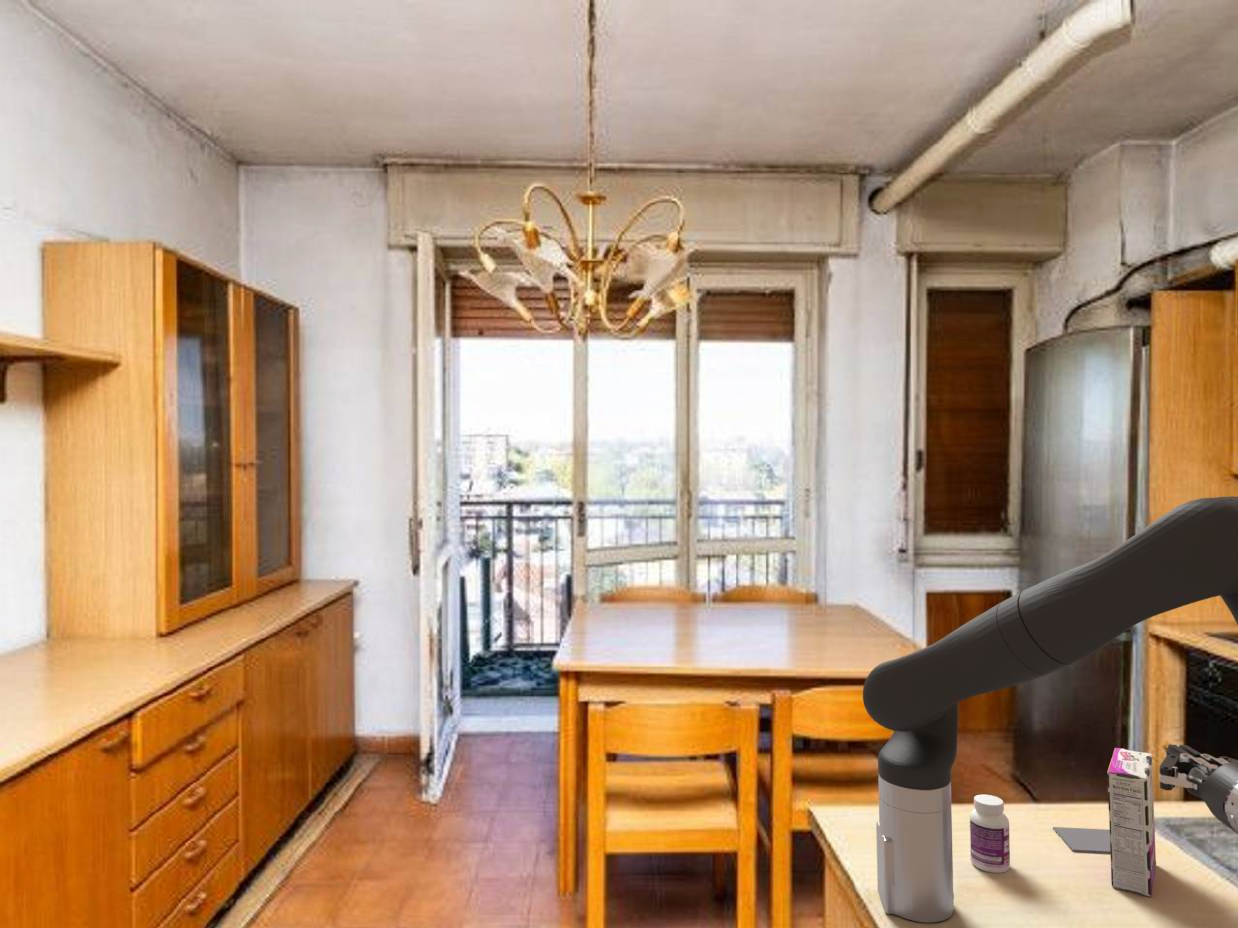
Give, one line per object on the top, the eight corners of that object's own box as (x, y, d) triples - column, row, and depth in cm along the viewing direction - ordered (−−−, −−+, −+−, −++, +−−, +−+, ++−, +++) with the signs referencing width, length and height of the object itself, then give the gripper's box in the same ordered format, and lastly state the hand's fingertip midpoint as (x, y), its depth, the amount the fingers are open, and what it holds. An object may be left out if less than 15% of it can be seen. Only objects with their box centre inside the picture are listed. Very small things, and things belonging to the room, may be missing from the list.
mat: (1072, 851, 119) (1072, 849, 119) (1052, 828, 126) (1052, 826, 126) (1151, 855, 117) (1151, 853, 117) (1126, 832, 124) (1126, 830, 124)
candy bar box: (1116, 854, 117) (1113, 746, 117) (1156, 864, 114) (1154, 752, 114) (1108, 887, 108) (1105, 769, 109) (1152, 899, 105) (1149, 777, 105)
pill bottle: (1015, 875, 112) (1013, 808, 112) (975, 872, 113) (973, 805, 113) (1004, 857, 117) (1002, 793, 117) (966, 854, 118) (965, 790, 118)
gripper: (1337, 778, 82) (1233, 724, 99) (1196, 773, 84) (1118, 721, 101) (1339, 850, 81) (1235, 783, 99) (1198, 843, 84) (1120, 779, 101)
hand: (1176, 752), depth 100 cm, fingers closed
